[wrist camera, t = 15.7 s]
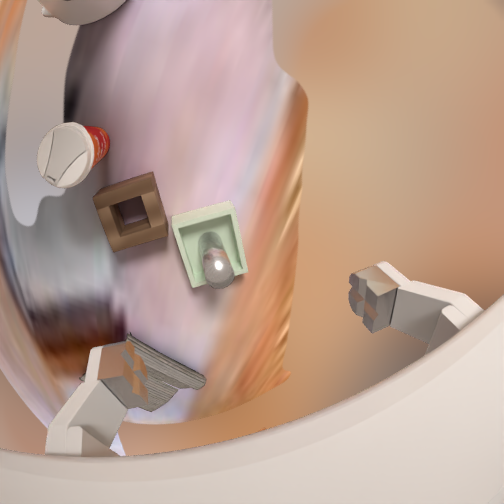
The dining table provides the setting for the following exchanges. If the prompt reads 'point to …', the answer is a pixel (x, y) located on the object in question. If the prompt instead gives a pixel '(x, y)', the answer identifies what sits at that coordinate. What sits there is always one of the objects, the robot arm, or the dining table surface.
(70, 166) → the paper cup
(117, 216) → the socket block
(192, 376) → the mat
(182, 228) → the tray
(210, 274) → the steel pin
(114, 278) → the dining table surface
